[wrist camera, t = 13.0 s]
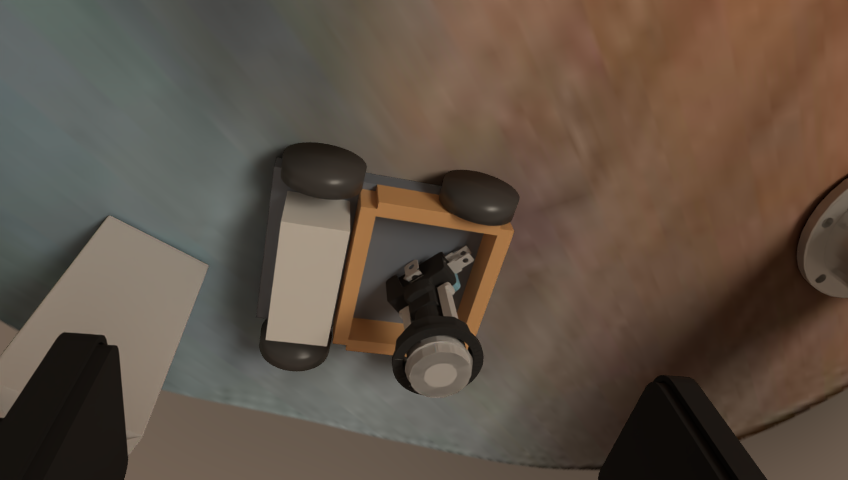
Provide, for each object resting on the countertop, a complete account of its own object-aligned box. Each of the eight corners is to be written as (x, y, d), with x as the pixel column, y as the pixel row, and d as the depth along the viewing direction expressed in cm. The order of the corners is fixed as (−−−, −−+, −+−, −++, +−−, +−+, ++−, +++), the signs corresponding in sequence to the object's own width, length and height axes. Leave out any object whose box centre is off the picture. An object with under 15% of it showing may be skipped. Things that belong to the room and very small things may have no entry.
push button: (448, 219, 38) (476, 311, 30) (487, 270, 41) (523, 368, 32) (369, 270, 39) (374, 371, 31) (412, 316, 42) (427, 421, 33)
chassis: (515, 178, 39) (538, 216, 34) (458, 342, 46) (470, 392, 41) (279, 135, 35) (268, 171, 31) (257, 320, 42) (245, 372, 38)
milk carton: (210, 263, 39) (113, 514, 23) (164, 328, 42) (48, 596, 26) (109, 212, 37) (-80, 457, 20) (66, 285, 39) (-133, 556, 23)
